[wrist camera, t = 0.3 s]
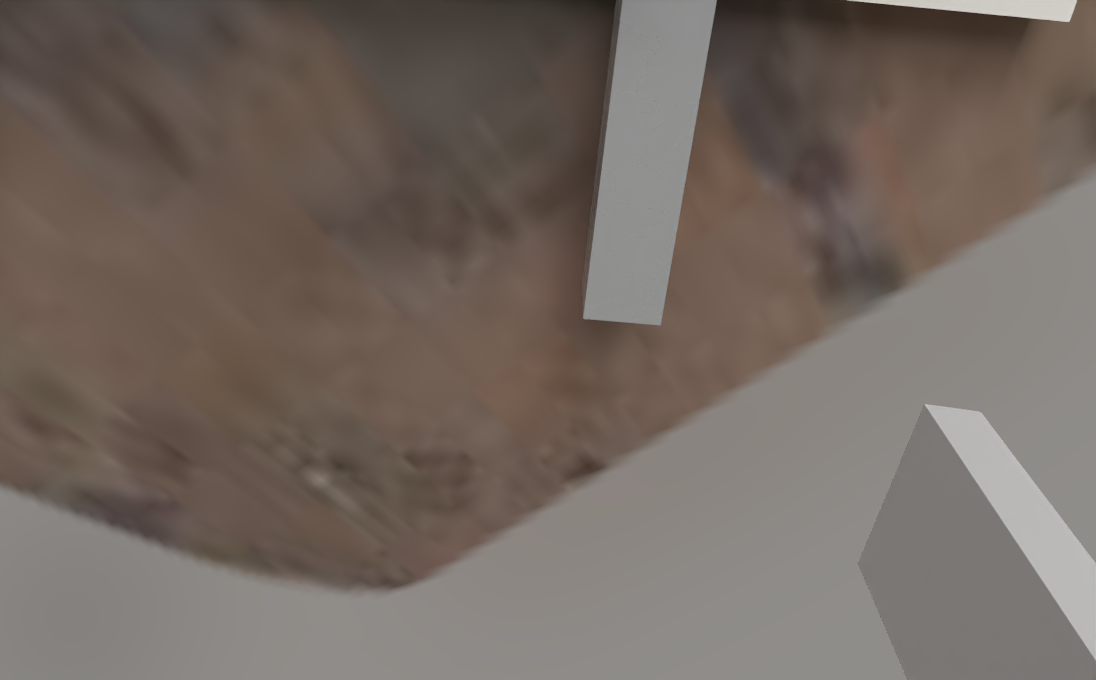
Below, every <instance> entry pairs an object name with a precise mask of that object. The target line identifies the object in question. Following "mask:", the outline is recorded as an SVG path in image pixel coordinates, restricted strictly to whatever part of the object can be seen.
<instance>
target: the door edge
mask: <svg viewBox="0 0 1096 680" xmlns="http://www.w3.org/2000/svg"><path fill="white" fill-rule="evenodd" d="M849 1H859V2H869V3H879V4H890V5H900V6H910V7H920V8H931V9H941V10H951V11H962V12H972V13H982V14H992V15H1003V16H1013V17H1023V18H1034V19H1044V20H1054V21H1064V22H1070V19H1071V16H1072V13H1073V10H1074V8H1075V5H1076V2H1077V0H849Z"/></svg>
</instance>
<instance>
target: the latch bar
mask: <svg viewBox="0 0 1096 680" xmlns="http://www.w3.org/2000/svg"><path fill="white" fill-rule="evenodd" d="M716 2H717V0H616V5H615V13H614V22H613V30H612V38H611V47H610V55H609V63H608V71H607V80H606V88H605V96H604V105H603V113H602V121H601V129H600V138H599V146H598V154H597V163H596V171H595V179H594V188H593V196H592V204H591V212H590V221H589V229H588V237H587V246H586V254H585V262H584V270H583V279H582V287H581V289H582V308H583V319H591V320H603V321H615V322H627V323H639V324H651V325H661V320H662V314H663V308H664V303H665V297H666V291H667V285H668V280H669V274H670V268H671V262H672V256H673V251H674V245H675V239H676V233H677V228H678V222H679V216H680V210H681V204H682V199H683V193H684V187H685V181H686V176H687V170H688V164H689V158H690V152H691V147H692V141H693V135H694V129H695V124H696V118H697V112H698V106H699V100H700V95H701V89H702V83H703V77H704V72H705V66H706V60H707V54H708V48H709V43H710V37H711V31H712V25H713V19H714V14H715V8H716Z"/></svg>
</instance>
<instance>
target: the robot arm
mask: <svg viewBox="0 0 1096 680" xmlns="http://www.w3.org/2000/svg"><path fill="white" fill-rule="evenodd" d="M858 565H859V567H860V570H861V572H862V574H863V576H864V579H865V582H866V584H867V586H868V589H869V591H870V593H871V596H872V598H873V600H874V603H875V605H876V607H877V609H878V612H879V614H880V617H881V619H882V621H883V624H884V626H885V628H886V631H887V633H888V636H889V638H890V640H891V643H892V645H893V647H894V650H895V652H896V654H897V657H898V659H899V661H900V664H901V666H902V668H903V671H904V673H905V676H906V678H907V680H1096V563H1095V562H1094V561H1093V559H1092V558H1091V557H1090V555H1089V554H1088V553H1087V552H1086V550H1085V549H1084V547H1083V546H1082V545H1081V544H1080V542H1079V541H1078V540H1077V538H1076V537H1075V536H1074V534H1073V533H1072V532H1071V530H1070V529H1069V528H1068V526H1067V525H1066V524H1065V522H1064V521H1063V520H1062V519H1061V517H1060V516H1059V515H1058V513H1057V512H1056V511H1055V509H1054V508H1053V507H1052V505H1051V504H1050V503H1049V501H1048V500H1047V499H1046V497H1045V496H1044V495H1043V494H1042V492H1041V491H1040V490H1039V488H1038V487H1037V486H1036V484H1035V483H1034V482H1033V480H1032V479H1031V478H1030V476H1029V475H1028V474H1027V473H1026V471H1025V470H1024V469H1023V467H1022V466H1021V465H1020V463H1019V462H1018V461H1017V459H1016V458H1015V457H1014V455H1013V454H1012V453H1011V451H1010V450H1009V449H1008V447H1007V446H1006V445H1005V443H1004V442H1003V441H1002V439H1001V438H1000V437H999V436H998V435H997V433H996V432H995V430H994V429H993V428H992V427H991V425H990V424H989V422H988V421H987V420H986V418H985V417H984V416H983V414H982V413H981V412H978V411H971V410H963V409H956V408H949V407H942V406H935V405H927V404H924V406H923V409H922V411H921V413H920V416H919V418H918V420H917V423H916V425H915V428H914V430H913V433H912V435H911V438H910V440H909V442H908V444H907V447H906V449H905V452H904V454H903V456H902V459H901V461H900V464H899V466H898V468H897V471H896V473H895V476H894V478H893V480H892V483H891V485H890V488H889V490H888V492H887V495H886V497H885V499H884V502H883V504H882V507H881V509H880V511H879V514H878V516H877V519H876V521H875V523H874V526H873V528H872V531H871V533H870V535H869V538H868V540H867V543H866V545H865V548H864V550H863V552H862V555H861V557H860V559H859V562H858Z"/></svg>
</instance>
